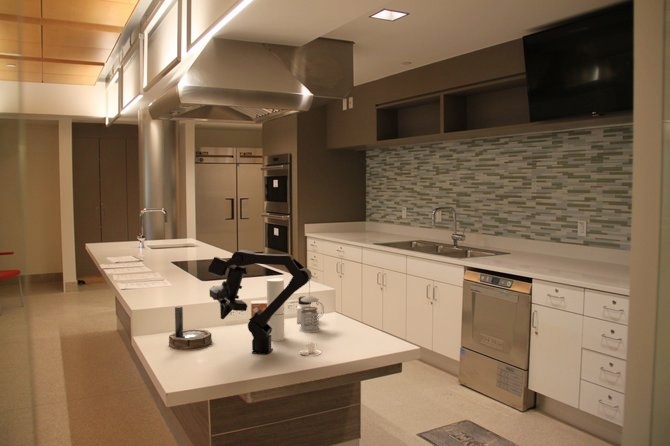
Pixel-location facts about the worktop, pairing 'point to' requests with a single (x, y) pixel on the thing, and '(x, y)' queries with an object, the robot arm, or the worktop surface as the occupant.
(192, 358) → the worktop surface
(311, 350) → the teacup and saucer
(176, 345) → the dial housing
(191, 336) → the dial
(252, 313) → the small box
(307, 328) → the french press
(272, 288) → the cylindrical container
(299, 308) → the medicine bottle
